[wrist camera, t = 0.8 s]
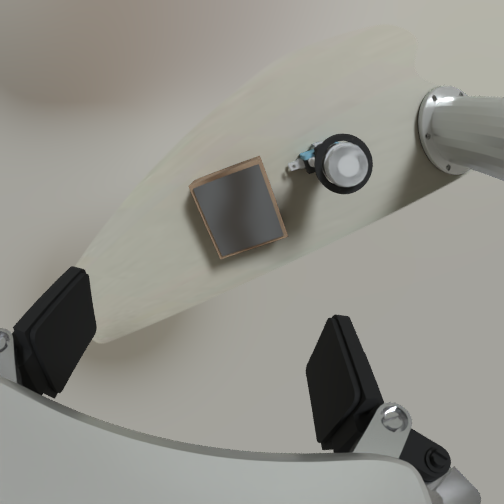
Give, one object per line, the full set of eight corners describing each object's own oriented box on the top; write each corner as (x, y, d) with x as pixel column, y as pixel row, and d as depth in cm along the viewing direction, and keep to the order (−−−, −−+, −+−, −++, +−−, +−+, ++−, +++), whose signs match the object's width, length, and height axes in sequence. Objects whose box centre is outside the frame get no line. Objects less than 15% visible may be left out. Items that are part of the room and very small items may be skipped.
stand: (259, 155, 31) (261, 159, 27) (284, 226, 34) (288, 237, 31) (194, 180, 32) (187, 186, 28) (222, 246, 35) (220, 260, 32)
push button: (295, 186, 32) (314, 210, 23) (279, 144, 30) (293, 150, 21) (346, 168, 31) (383, 185, 22) (332, 126, 29) (367, 127, 20)
